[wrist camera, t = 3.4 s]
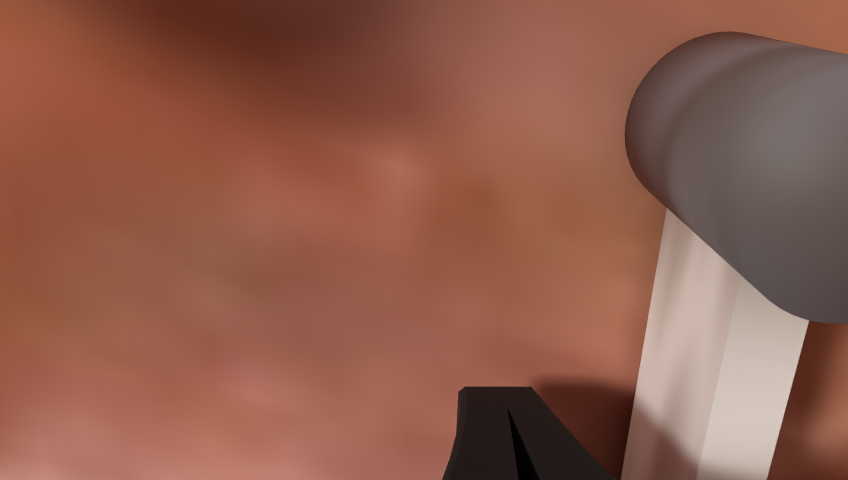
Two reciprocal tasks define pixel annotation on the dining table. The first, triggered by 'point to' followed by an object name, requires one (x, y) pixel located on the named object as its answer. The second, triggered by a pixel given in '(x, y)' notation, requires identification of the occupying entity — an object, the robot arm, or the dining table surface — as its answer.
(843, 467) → the dining table surface
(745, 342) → the lever
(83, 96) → the dining table surface
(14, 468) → the dining table surface
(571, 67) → the dining table surface
